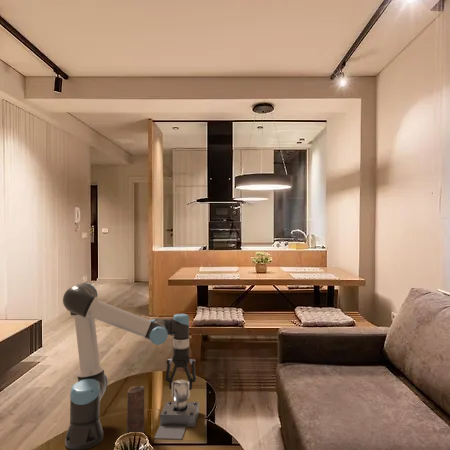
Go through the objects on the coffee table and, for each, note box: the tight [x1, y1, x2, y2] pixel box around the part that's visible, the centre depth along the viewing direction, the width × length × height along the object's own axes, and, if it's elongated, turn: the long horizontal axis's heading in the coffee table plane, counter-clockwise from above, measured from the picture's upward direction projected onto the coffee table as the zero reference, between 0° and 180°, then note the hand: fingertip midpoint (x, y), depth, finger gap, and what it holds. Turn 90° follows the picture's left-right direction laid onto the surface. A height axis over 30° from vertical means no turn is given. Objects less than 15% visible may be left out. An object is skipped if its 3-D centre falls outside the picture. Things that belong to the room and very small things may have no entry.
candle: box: [126, 385, 145, 434], centre depth 158 cm, size 8×7×20 cm
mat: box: [153, 425, 187, 441], centre depth 159 cm, size 12×10×1 cm
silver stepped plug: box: [172, 379, 189, 411], centre depth 172 cm, size 7×7×13 cm
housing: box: [159, 400, 200, 428], centre depth 172 cm, size 16×14×6 cm
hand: (180, 396), depth 172 cm, fingers closed on silver stepped plug, 7 cm apart
